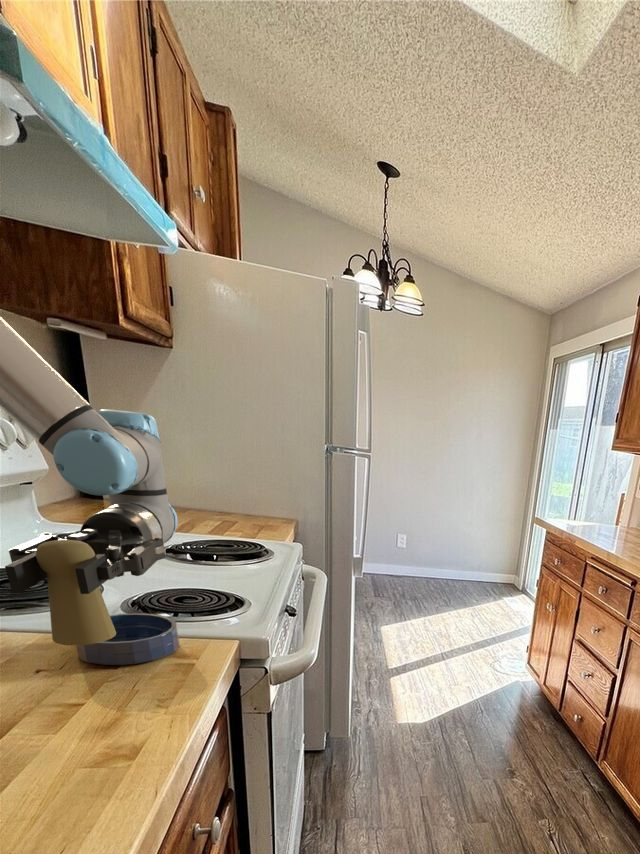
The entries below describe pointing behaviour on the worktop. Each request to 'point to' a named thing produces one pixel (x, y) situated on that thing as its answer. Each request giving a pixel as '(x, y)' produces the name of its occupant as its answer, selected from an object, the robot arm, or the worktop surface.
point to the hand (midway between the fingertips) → (48, 580)
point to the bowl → (133, 641)
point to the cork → (73, 595)
